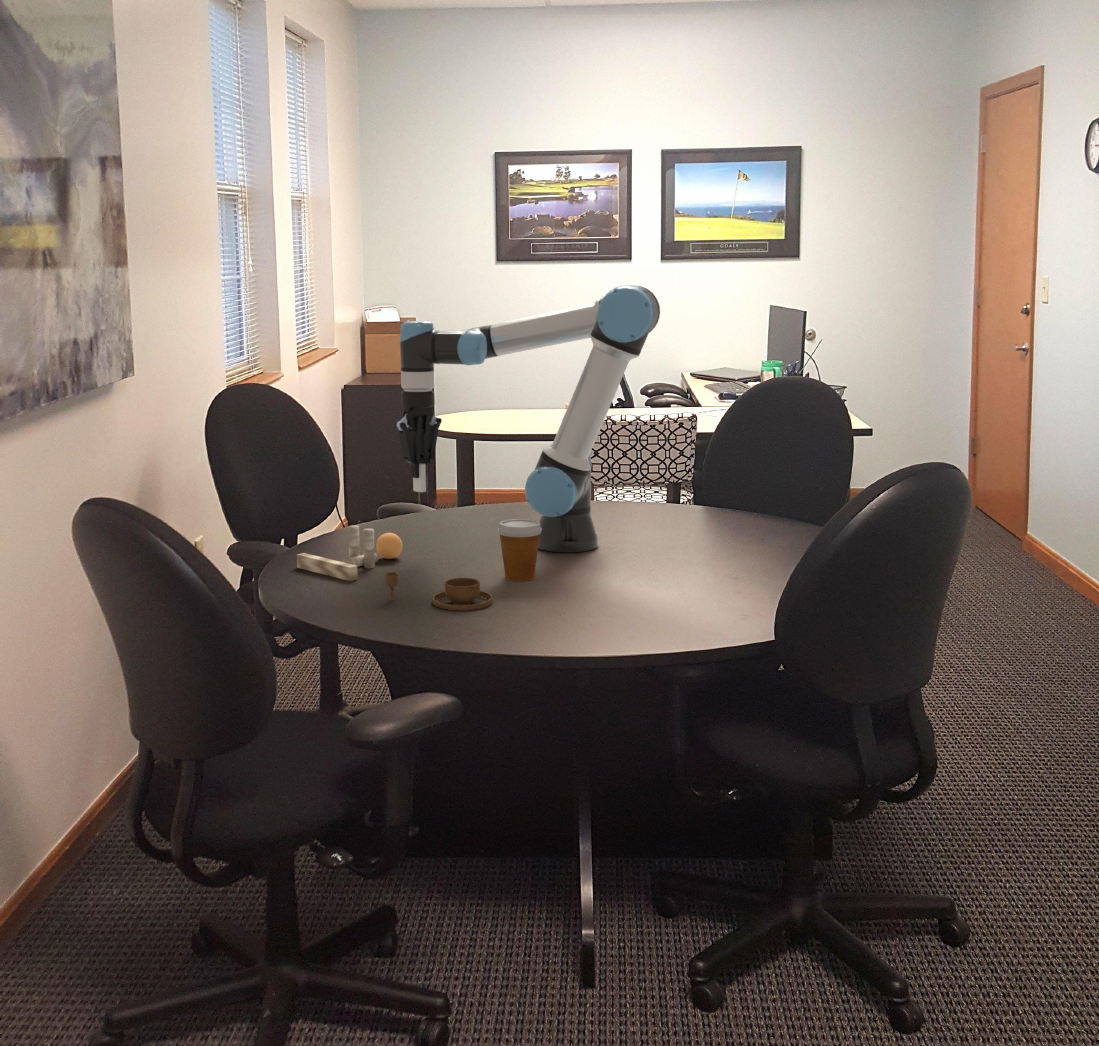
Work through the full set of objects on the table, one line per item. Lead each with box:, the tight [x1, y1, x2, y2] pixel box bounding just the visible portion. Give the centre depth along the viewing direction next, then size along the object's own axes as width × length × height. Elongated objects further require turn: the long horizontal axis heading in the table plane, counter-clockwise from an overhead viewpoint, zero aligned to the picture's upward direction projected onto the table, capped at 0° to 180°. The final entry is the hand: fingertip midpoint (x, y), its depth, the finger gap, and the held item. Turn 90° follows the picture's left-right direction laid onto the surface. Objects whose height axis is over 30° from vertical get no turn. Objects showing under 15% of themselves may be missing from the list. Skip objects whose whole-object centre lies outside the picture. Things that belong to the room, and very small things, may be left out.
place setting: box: [385, 571, 496, 612], centre depth 237 cm, size 18×20×6 cm
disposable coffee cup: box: [497, 518, 542, 582], centre depth 254 cm, size 10×10×12 cm
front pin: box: [341, 552, 379, 568], centre depth 265 cm, size 2×2×8 cm
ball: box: [375, 532, 403, 560], centre depth 271 cm, size 6×6×6 cm
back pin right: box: [347, 524, 361, 558], centre depth 266 cm, size 2×2×8 cm
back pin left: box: [362, 528, 376, 569], centre depth 263 cm, size 2×2×8 cm
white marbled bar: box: [296, 552, 358, 582], centre depth 258 cm, size 18×2×3 cm, turn 49°
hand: (419, 491), depth 276 cm, fingers closed
